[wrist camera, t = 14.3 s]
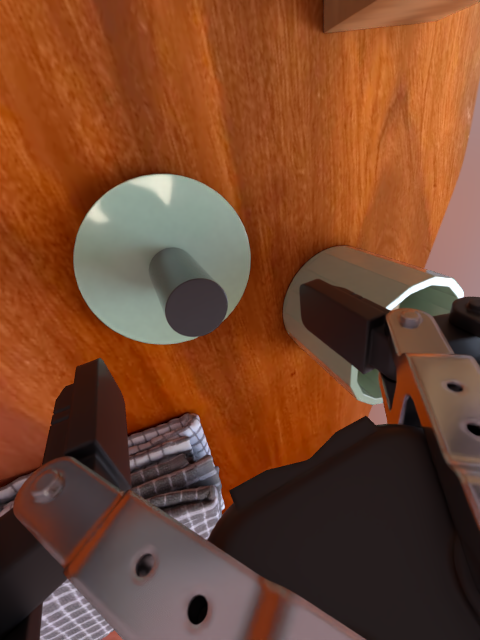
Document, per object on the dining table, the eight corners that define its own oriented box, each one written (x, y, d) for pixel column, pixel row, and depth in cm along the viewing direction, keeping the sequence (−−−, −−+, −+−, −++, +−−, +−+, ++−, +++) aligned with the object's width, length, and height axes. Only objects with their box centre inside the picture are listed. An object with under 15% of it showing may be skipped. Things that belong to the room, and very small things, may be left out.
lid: (229, 155, 17) (291, 149, 11) (254, 308, 23) (303, 354, 17) (34, 198, 14) (-15, 218, 9) (119, 358, 20) (125, 433, 14)
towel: (-41, 492, 20) (-110, 643, 14) (203, 405, 26) (235, 483, 19) (46, 575, 28) (29, 697, 21) (220, 494, 33) (246, 571, 27)
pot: (376, 231, 24) (481, 256, 18) (367, 324, 30) (445, 371, 23) (277, 265, 22) (355, 309, 15) (287, 359, 27) (347, 424, 20)
